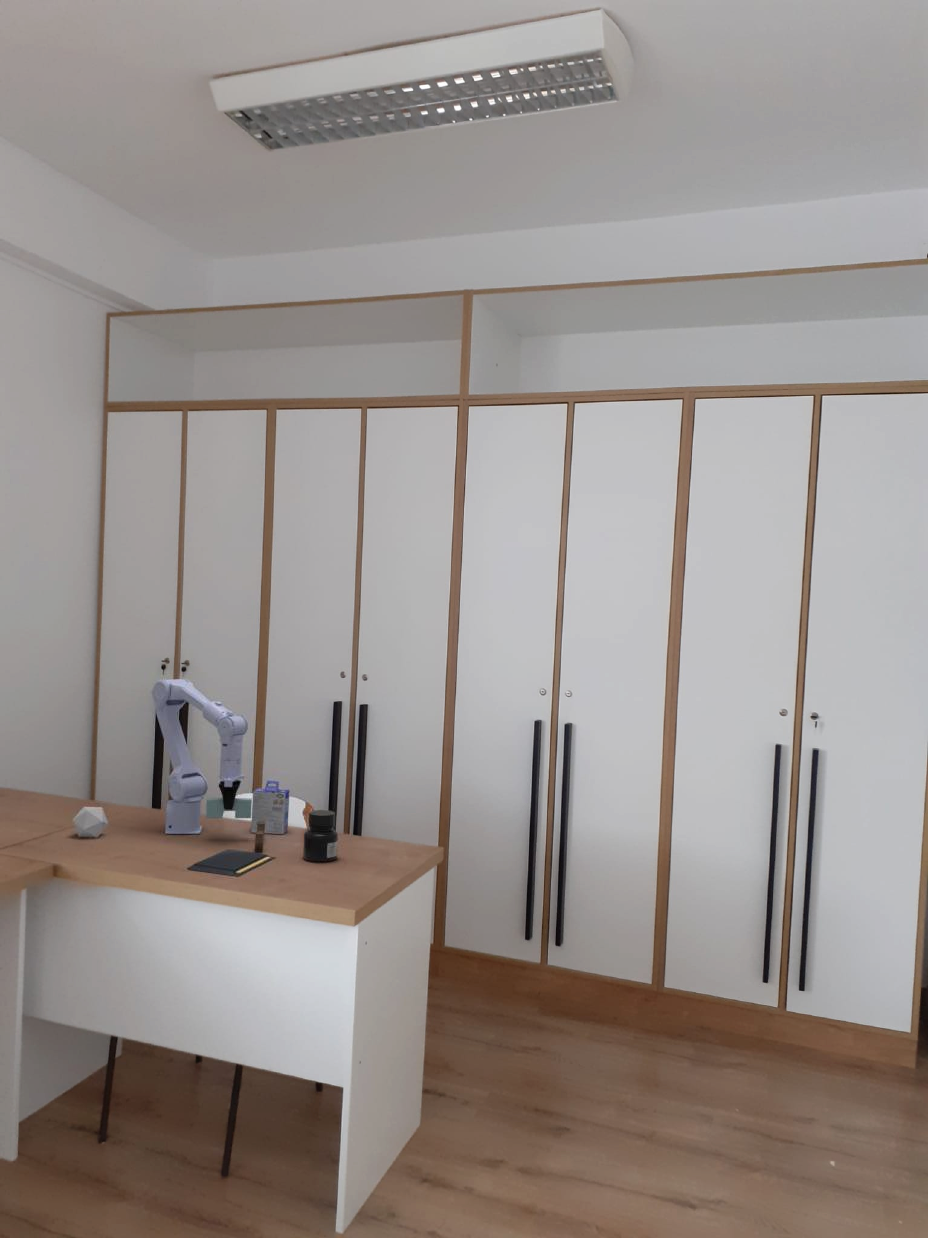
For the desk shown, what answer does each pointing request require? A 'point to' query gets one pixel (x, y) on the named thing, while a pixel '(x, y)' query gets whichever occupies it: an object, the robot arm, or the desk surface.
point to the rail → (259, 837)
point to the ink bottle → (321, 837)
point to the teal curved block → (216, 810)
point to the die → (90, 822)
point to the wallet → (231, 863)
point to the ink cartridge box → (270, 809)
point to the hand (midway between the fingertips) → (228, 808)
